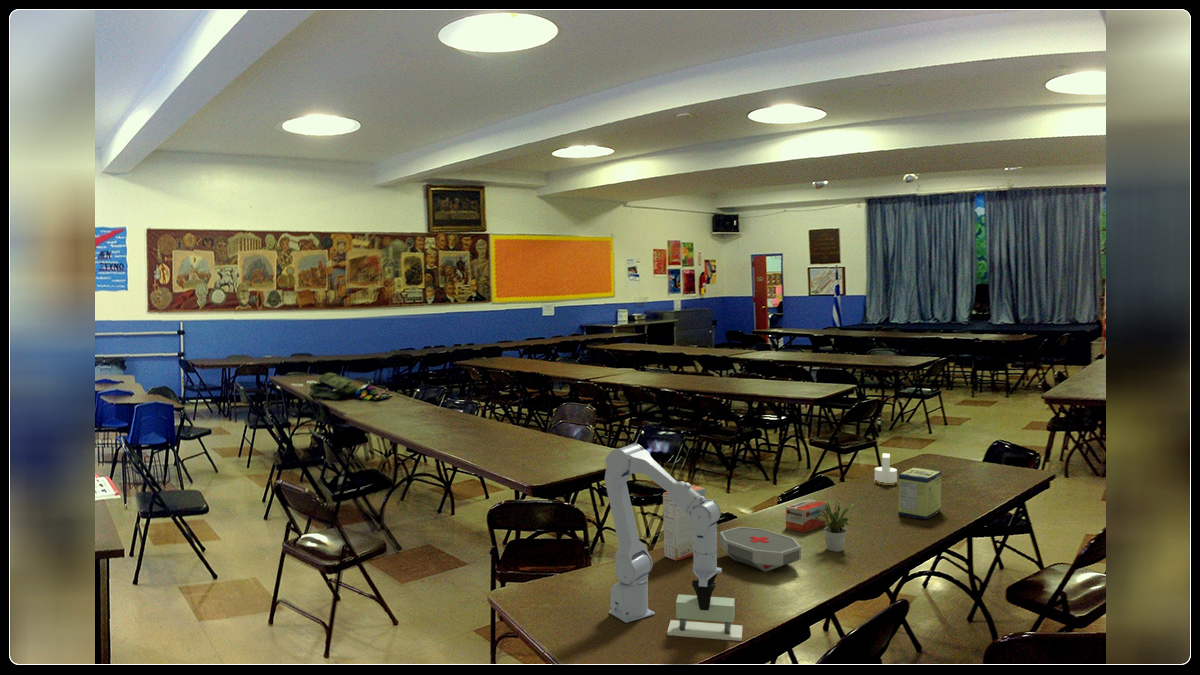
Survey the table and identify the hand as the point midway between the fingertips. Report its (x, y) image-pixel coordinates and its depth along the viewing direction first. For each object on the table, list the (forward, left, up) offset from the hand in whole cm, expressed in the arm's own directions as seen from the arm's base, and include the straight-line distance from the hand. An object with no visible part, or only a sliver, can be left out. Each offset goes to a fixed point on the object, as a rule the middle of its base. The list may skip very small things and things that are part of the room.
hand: (705, 604), depth 196 cm
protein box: (+132, +32, -7) cm, 136 cm away
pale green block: (0, 0, -3) cm, 3 cm away
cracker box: (+32, +47, -7) cm, 57 cm away
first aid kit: (+46, +28, -7) cm, 54 cm away
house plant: (+74, +24, -7) cm, 78 cm away
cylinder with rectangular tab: (+160, +68, -7) cm, 174 cm away
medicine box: (+86, +45, -7) cm, 98 cm away
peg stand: (0, 0, -7) cm, 7 cm away
